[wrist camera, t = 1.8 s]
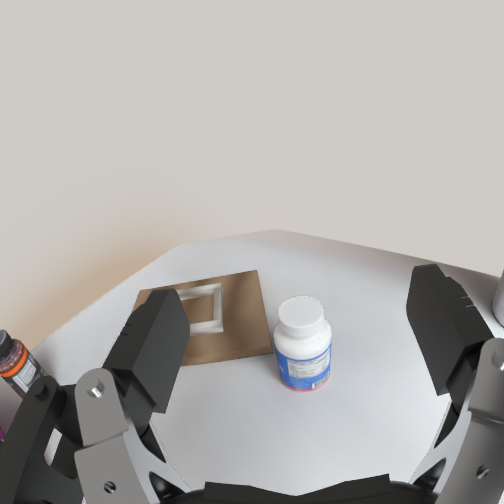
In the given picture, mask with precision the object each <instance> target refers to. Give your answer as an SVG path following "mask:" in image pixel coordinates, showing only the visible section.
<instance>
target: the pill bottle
mask: <svg viewBox="0 0 504 504" xmlns="http://www.w3.org/2000/svg"><path fill="white" fill-rule="evenodd" d="M331 339H332V331H331V326H330V324H329V322H328V321H327V319H326V318H325V317H324V307H323V305H322V303H321V302H320V301H319V300H317V299H315V298H313V297H310V296H295V297H292V298H289V299H287V300H286V301H284V302H283V303H282V304H281V305H280V307H279V309H278V323H277V325H276V327H275V329H274V343H275V349H276V354H277V360H278V366H279V371H280V376H281V379H282V381H283V383H284V384H285V385H286V386H287V387H288V388H289V389H291V390H293V391H296V392H311V391H314V390H317V389H318V388H320V387H321V386H323V385H324V383H325V382H326V381H327V379H328V377H329V374H330V357H331Z"/></svg>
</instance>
